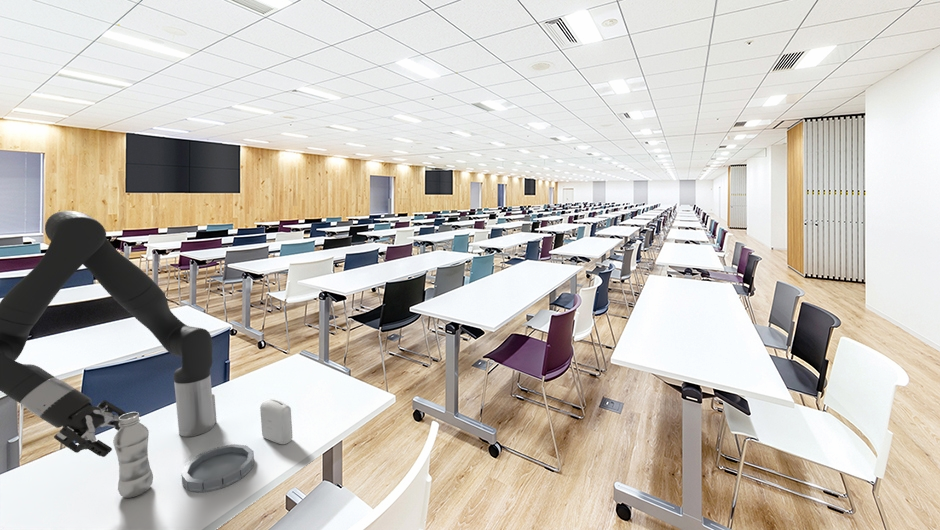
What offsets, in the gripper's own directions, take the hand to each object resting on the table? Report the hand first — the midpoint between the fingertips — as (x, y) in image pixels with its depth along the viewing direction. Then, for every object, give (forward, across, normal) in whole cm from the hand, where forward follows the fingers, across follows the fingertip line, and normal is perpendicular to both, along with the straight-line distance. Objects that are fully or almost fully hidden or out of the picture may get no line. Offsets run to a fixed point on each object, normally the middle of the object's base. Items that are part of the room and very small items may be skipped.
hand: (120, 442), depth 93 cm
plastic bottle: (+11, 0, +8) cm, 14 cm away
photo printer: (+31, +18, -12) cm, 37 cm away
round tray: (+23, +5, -4) cm, 24 cm away
